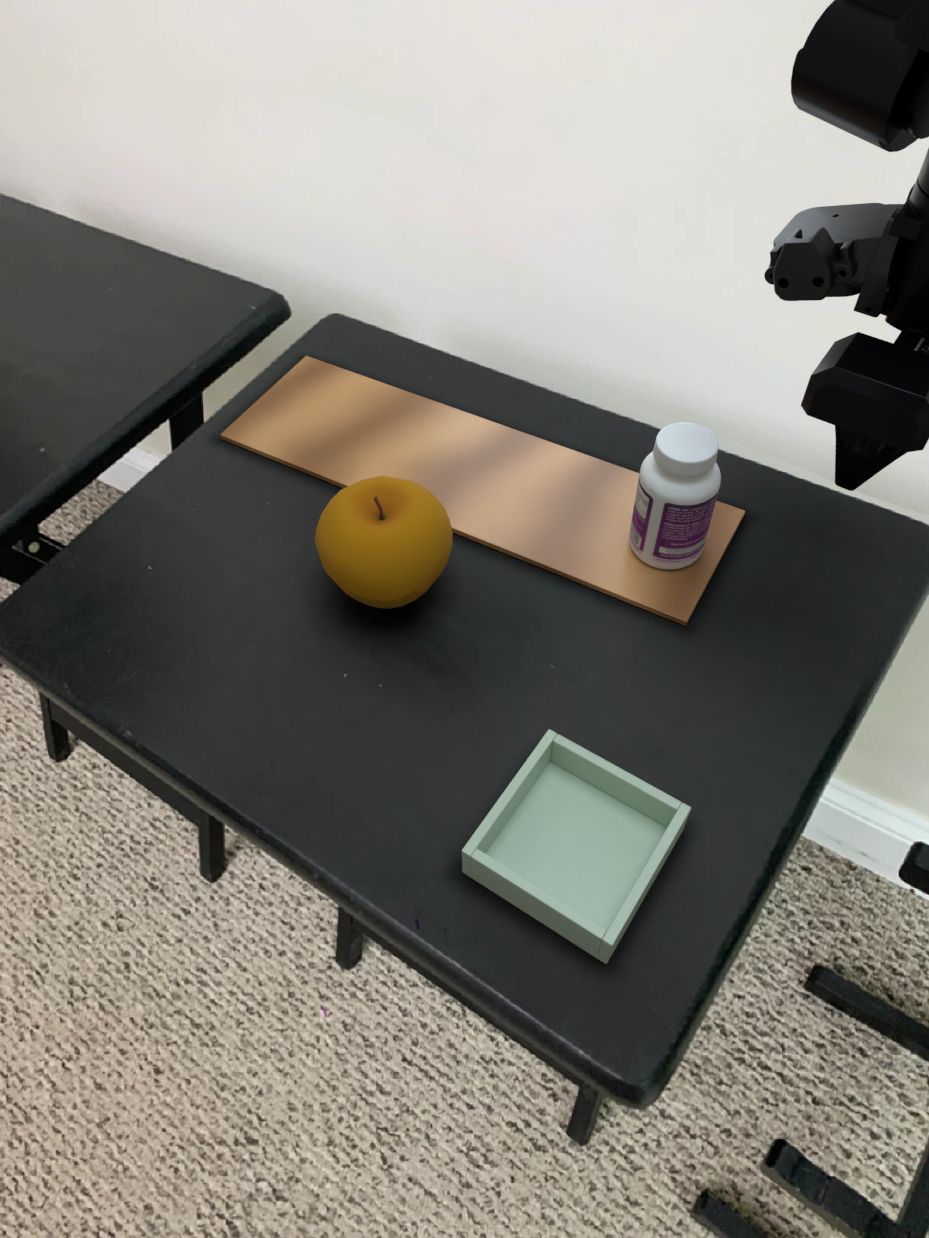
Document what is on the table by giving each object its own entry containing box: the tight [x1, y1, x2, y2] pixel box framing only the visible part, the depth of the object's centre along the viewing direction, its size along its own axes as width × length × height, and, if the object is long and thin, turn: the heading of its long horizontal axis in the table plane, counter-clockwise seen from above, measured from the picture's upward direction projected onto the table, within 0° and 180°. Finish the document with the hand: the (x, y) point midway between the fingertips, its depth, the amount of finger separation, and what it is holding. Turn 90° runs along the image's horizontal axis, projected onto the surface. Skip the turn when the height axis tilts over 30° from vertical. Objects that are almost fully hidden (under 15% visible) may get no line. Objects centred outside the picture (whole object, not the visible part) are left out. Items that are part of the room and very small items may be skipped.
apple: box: [314, 476, 454, 610], centre depth 61 cm, size 9×9×9 cm
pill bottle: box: [629, 421, 722, 569], centre depth 63 cm, size 5×5×10 cm
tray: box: [461, 728, 692, 965], centre depth 52 cm, size 9×9×3 cm
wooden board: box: [219, 355, 746, 627], centre depth 72 cm, size 40×12×1 cm, turn 60°
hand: (871, 442), depth 56 cm, fingers open, 9 cm apart
